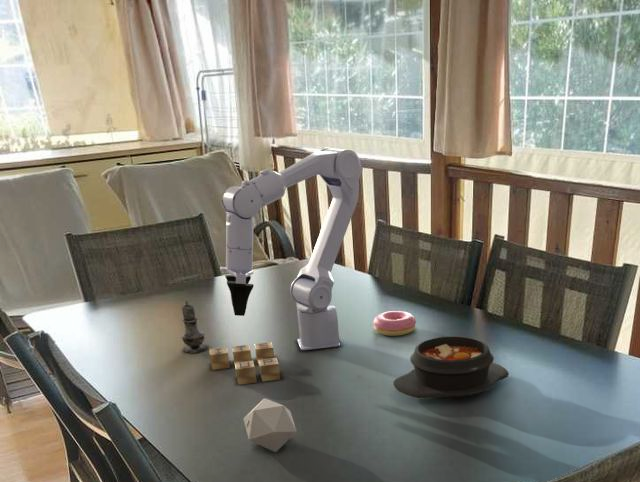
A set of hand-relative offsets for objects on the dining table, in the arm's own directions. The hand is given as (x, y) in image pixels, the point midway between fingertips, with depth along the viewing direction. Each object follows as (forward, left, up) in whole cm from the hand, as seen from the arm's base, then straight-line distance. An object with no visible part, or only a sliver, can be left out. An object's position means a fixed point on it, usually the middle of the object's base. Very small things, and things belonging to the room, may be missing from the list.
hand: (238, 311), depth 155 cm
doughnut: (-39, -10, -12) cm, 42 cm away
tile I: (+6, 0, -12) cm, 13 cm away
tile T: (+1, 0, -12) cm, 12 cm away
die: (-2, +44, -12) cm, 46 cm away
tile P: (-5, +11, -12) cm, 17 cm away
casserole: (-41, +29, -12) cm, 51 cm away
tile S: (-5, 0, -12) cm, 13 cm away
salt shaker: (+11, -14, -12) cm, 22 cm away
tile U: (+1, +11, -12) cm, 16 cm away
